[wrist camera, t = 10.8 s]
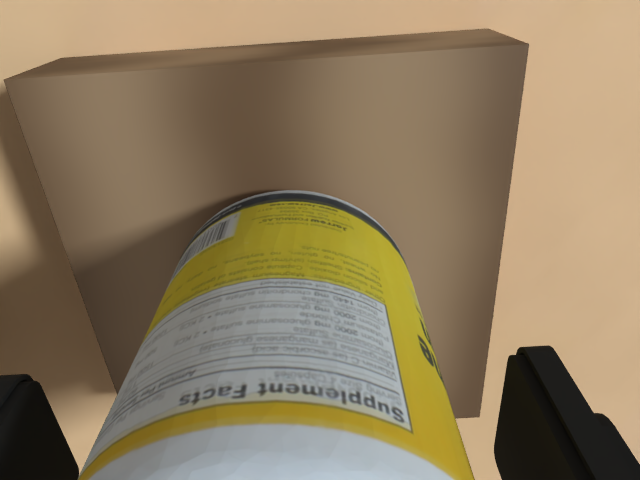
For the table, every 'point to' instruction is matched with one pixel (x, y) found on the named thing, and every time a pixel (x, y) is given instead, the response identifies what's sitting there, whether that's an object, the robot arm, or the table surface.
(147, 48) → the table surface
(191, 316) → the pill bottle
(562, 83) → the table surface
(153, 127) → the walnut block
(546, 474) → the robot arm
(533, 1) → the table surface
